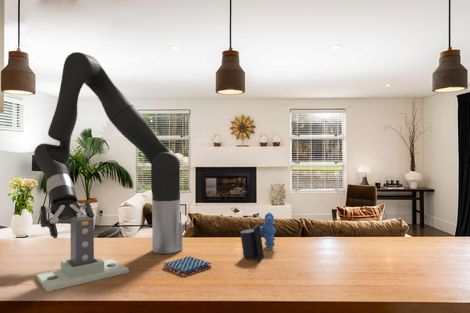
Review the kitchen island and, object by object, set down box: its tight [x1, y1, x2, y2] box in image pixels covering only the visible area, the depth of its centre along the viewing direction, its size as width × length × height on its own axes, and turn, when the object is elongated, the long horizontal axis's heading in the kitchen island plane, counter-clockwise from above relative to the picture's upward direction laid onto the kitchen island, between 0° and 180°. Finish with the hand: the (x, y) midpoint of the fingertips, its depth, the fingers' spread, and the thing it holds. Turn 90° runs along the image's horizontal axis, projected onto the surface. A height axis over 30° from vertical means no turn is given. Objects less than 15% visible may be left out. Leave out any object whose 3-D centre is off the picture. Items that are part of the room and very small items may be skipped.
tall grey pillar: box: [70, 217, 95, 267], centre depth 90 cm, size 4×5×14 cm
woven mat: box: [161, 256, 212, 277], centre depth 95 cm, size 10×11×2 cm
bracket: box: [36, 254, 130, 293], centre depth 90 cm, size 20×12×4 cm, turn 131°
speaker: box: [240, 224, 265, 263], centre depth 105 cm, size 8×6×10 cm
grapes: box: [259, 212, 277, 250], centre depth 116 cm, size 12×7×12 cm, turn 176°
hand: (72, 234), depth 97 cm, fingers open, 8 cm apart
